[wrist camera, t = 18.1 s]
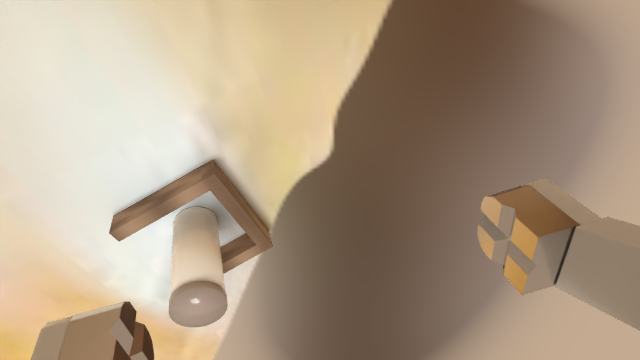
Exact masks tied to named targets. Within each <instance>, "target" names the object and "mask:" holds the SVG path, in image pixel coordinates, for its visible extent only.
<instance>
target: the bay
mask: <svg viewBox="0 0 640 360" xmlns="http://www.w3.org/2000/svg"><path fill="white" fill-rule="evenodd" d="M208 191H211V192H212V193H213V194H214V195H215V196H216V198H217V199H218V200H219V201H220V202H221V204H222V205H223V206H224V207H225V208H226V209H227V211H228V212H229V213H230V214H231V215H232V217H233V218H234V219H235V220H236V221H237V223H238V224H239V225H240V226H241V227H242V228H243V230H244V231H245V232H246V234H244V235H243V236H241V237H239V238H237V239H235V240H234V241H232V242H230V243H228V244H226V245H225V246H223V247H221V258H222V267H223V274H224V273H226V272H228V271H229V270H231V269H233V268H235V267H236V266H238V265H240V264H242V263H244V262H245V261H247V260H249V259H251V258H253V257H254V256H256V255H258V254H260V253H262V252H263V251H265V250H267V249H269V248H271V247H272V246H273V245H272V241H271V238H270V234H269V231H268V229H267V228H266V227H265V226H264V224H263V223H262V222H261V221H260V219H259V218H258V217H257V215H256V214H255V213H254V212H253V210H252V209H251V208H250V207H249V205H248V204H247V203H246V202H245V200H244V199H243V198H242V196H241V195H240V194H239V193H238V191H237V190H236V189H235V188H234V186H233V185H232V184H231V182H230V181H229V180H228V179H227V177H226V176H225V175H224V174H223V172H222V171H221V170H220V168H219V167H218V166H217V165H216V163H215V162H214V161H213V160H211V161H210V162H208V163H206V164H204V165H203V166H201V167H199V168H197V169H196V170H194V171H192V172H190V173H189V174H187V175H185V176H183V177H182V178H180V179H178V180H176V181H174V182H173V183H171V184H169V185H167V186H166V187H164V188H162V189H160V190H159V191H157V192H155V193H153V194H152V195H150V196H148V197H146V198H144V199H143V200H141V201H139V202H137V203H136V204H134V205H132V206H130V207H129V208H127V209H125V210H123V211H122V212H120V213H118V214H116V215H115V216H113V219H112V224H111V228H110V232H109V233H110V234H111V235H112V236H113V237H114V238H116V239H117V240H118V241H121V240H123V239H125V238H126V237H128V236H130V235H132V234H133V233H135V232H137V231H139V230H141V229H142V228H144V227H146V226H148V225H149V224H151V223H153V222H155V221H157V220H158V219H160V218H162V217H164V216H165V215H167V214H169V213H171V212H172V211H174V210H176V209H178V208H180V207H181V206H183V205H185V204H187V203H188V202H190V201H192V200H194V199H195V198H197V197H199V196H201V195H203V194H204V193H206V192H208Z"/></svg>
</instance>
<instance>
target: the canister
mask: <svg viewBox="0 0 640 360" xmlns="http://www.w3.org/2000/svg"><path fill="white" fill-rule="evenodd" d="M226 310H227V295H226V292H225V286H224V277H223V267H222V258H221V248H220V239H219V229H218V220H217V217H216V215H215V214H214V213H213V212H212V211H210V210H209V209H206V208H203V207H190V208H187V209H184V210H183V211H181V212H180V213H178V214H177V216H176V217H175V219H174V222H173V242H172V268H171V295H170V300H169V315H170V317H171V319H172V320H173V321H174V322H175V323H177V324H179V325H182V326H185V327H201V326H206V325H209V324H211V323H214V322H215V321H217V320H218V319H220V318H221V317H222V316H223V315H224V313H225V312H226Z"/></svg>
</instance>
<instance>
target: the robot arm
mask: <svg viewBox="0 0 640 360" xmlns="http://www.w3.org/2000/svg"><path fill="white" fill-rule="evenodd" d="M481 211H482V212H483V213H484V214H485V216H484V217H483V219H482V220H481V221H480V222H479V224H478V233H477V235H478V238H479V242H480V246H481V247H482V249H483V251H484V253H485V254H486V255H487V256H488V257H489V259H490V260H491V261H494V262H496V263H498V264H501V265H503V274H504V275H505V277H506V278H507V279H508V280H509V281H510V282H511V283H512V284H513V285H514V286H515V288H516V289H517V290H518V291H519V292H520V293H521V294H522V295H525V294H528V293H531V292H534V291H538V290H541V289H544V288H548V287H551V286H554V285H556V288H558V289H560V290H562V291H564V292H566V293H568V294H570V295H572V296H574V297H576V298H578V299H579V300H581V301H584V302H585V303H587V304H589V305H591V306H593V307H595V308H597V309H599V310H601V311H603V312H605V313H607V314H609V315H611V316H612V317H614V318H616V319H618V320H620V321H622V322H624V323H626V324H628V325H630V326H632V327H634V328H636V329H638V330H640V226H637V225H634V224H631V223H627V222H624V221H620V220H617V219H613V218H610V217H606V218H600V217H599V216H598V215H596V214H595V213H593V212H592V211H590V210H589V209H588V208H587V207H585V206H584V205H582V204H581V203H580V202H578V201H577V200H575V199H574V198H573V197H571V196H570V195H569V194H567V193H566V192H564V191H563V190H561V189H560V188H559V187H557V186H556V185H555V184H553V183H552V182H550V181H548V180H545V179H541V180H538V181H535V182H531V183H528V184H524V185H523V186H518V187H515V188H511V189H508V190H505V191H501V192H498V193H495V194H491V195H488V196H485V198H484V199H483V201H482V204H481ZM135 320H136V310H135V309H134V307H133V306H132V305H131V303H130V302H121V303H118V304H114V305H110V306H106V307H103V308H99V309H95V310H91V311H88V312H84V313H80V314H76V315H74V316H71V317H67V318H63V319H59V320H56V321H52V322H48V323H47V324H46V325H45V326H44V327H43V328H42V329H41V331H40V334H39V337H38V340H37V343H36V345H35V348H34V351H33V354H32V357H31V360H154V350H153V343H152V339H151V336H150V334H149V331H148V330H147V328H146V326H145V325H144V324H141V323H138V322H136V321H135Z"/></svg>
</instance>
